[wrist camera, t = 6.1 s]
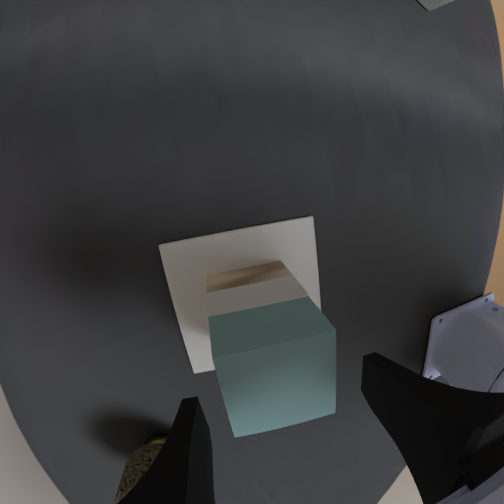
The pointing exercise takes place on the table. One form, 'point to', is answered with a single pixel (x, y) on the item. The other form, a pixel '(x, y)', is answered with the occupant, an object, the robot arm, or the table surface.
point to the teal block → (274, 364)
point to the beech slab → (246, 276)
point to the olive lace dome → (139, 464)
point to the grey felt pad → (231, 258)
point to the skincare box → (433, 3)
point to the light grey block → (254, 295)
